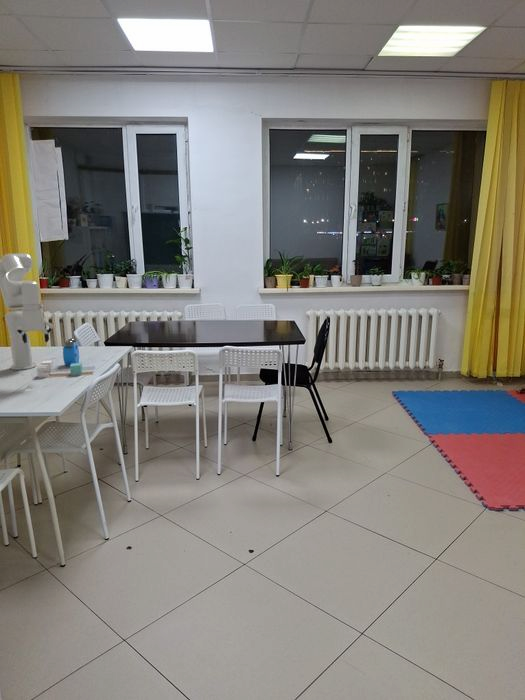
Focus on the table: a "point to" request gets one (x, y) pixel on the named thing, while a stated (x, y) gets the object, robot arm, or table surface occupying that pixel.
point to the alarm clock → (70, 352)
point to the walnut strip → (44, 373)
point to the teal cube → (76, 369)
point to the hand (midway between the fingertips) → (36, 342)
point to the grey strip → (62, 368)
